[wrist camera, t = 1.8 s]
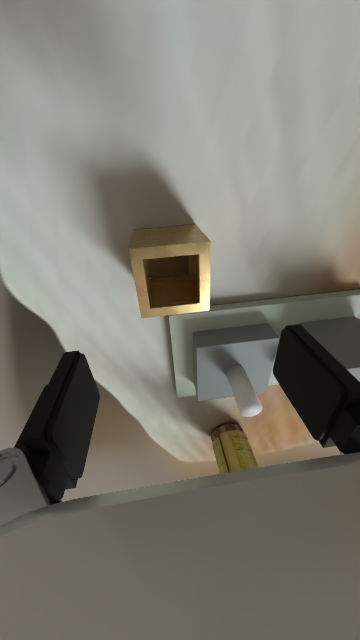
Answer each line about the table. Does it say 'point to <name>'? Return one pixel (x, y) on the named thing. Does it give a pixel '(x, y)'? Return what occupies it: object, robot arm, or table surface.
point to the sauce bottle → (232, 449)
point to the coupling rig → (257, 343)
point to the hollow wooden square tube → (174, 290)
